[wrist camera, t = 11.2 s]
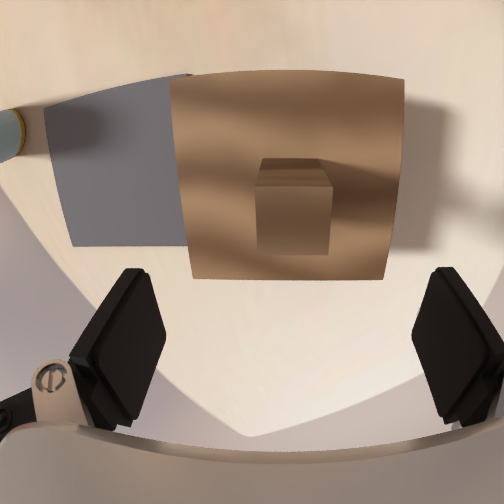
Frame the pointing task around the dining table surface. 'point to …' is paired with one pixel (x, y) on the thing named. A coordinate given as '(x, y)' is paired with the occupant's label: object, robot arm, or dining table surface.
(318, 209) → the cover
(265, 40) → the dining table surface
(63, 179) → the mat
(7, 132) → the bottle
